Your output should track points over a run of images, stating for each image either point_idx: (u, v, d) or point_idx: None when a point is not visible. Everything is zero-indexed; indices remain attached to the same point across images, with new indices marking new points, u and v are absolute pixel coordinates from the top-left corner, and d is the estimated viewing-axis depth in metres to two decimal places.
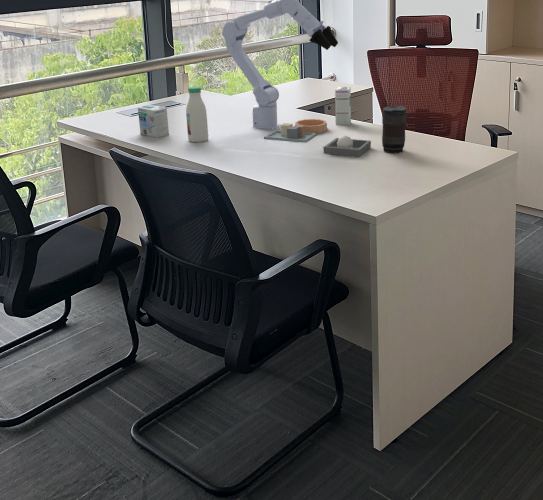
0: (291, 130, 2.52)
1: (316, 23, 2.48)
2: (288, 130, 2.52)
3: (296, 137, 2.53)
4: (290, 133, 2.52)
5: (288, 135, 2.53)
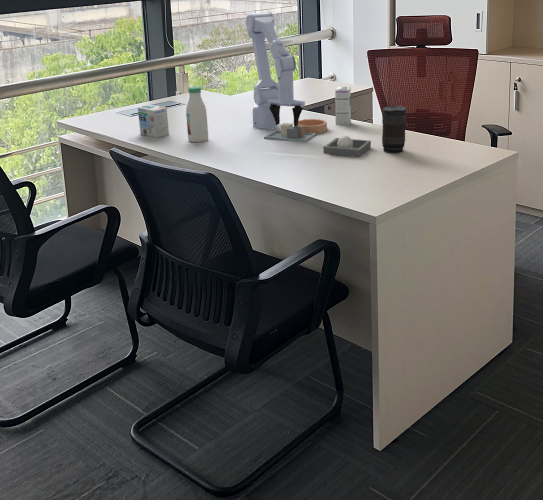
0: (291, 130, 2.52)
1: (279, 100, 2.53)
2: (288, 130, 2.52)
3: (296, 137, 2.53)
4: (290, 133, 2.52)
5: (288, 135, 2.53)
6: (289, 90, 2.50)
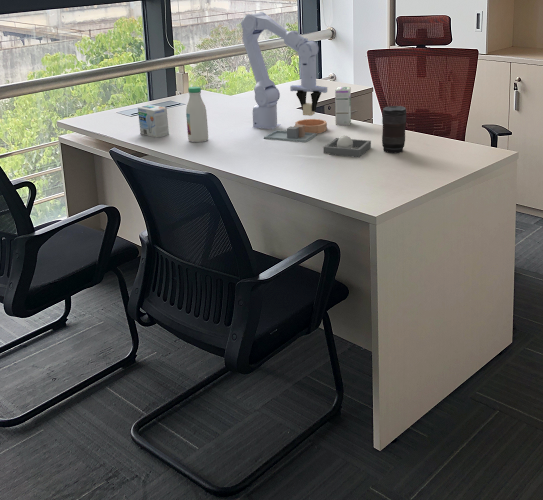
0: (291, 130, 2.52)
1: (302, 85, 2.56)
2: (288, 130, 2.52)
3: (296, 137, 2.53)
4: (290, 133, 2.52)
5: (288, 135, 2.53)
6: (312, 76, 2.53)
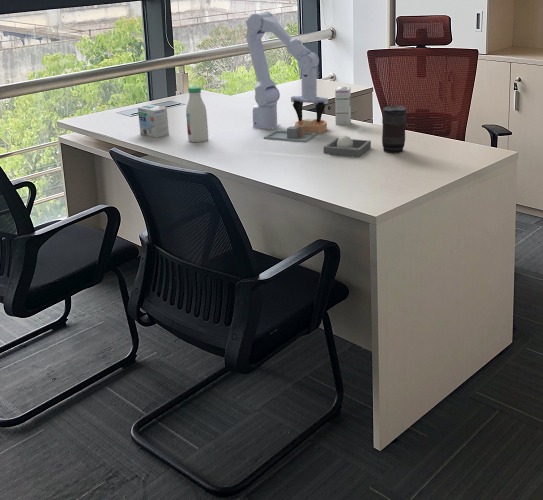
0: (291, 130, 2.52)
1: (303, 96, 2.58)
2: (288, 130, 2.52)
3: (296, 137, 2.53)
4: (290, 133, 2.52)
5: (288, 135, 2.53)
6: (312, 87, 2.55)
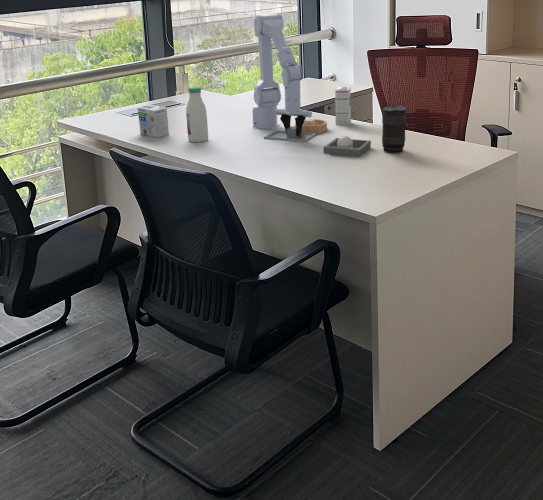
0: (291, 130, 2.52)
1: (286, 110, 2.49)
2: (288, 130, 2.52)
3: (296, 137, 2.53)
4: (290, 133, 2.52)
5: (288, 135, 2.53)
6: (296, 100, 2.46)
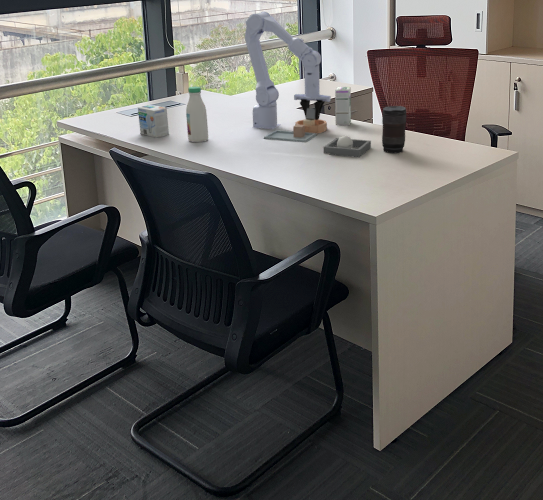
0: (311, 109, 2.62)
1: (306, 94, 2.60)
2: (308, 109, 2.63)
3: None
4: (309, 112, 2.63)
5: (307, 114, 2.63)
6: (315, 85, 2.58)
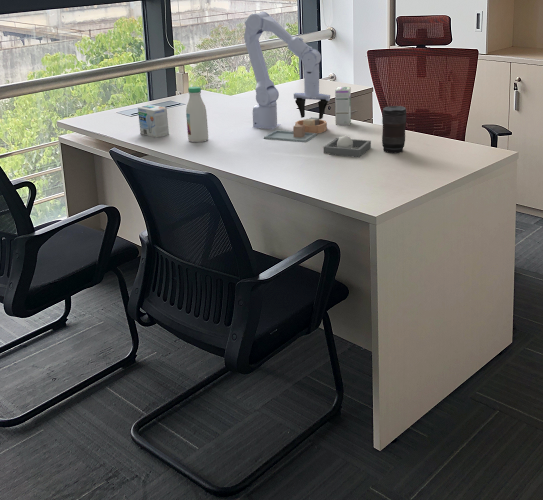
0: (315, 118, 2.67)
1: (305, 93, 2.60)
2: None
3: (315, 122, 2.65)
4: (312, 118, 2.67)
5: (310, 118, 2.66)
6: (315, 84, 2.57)
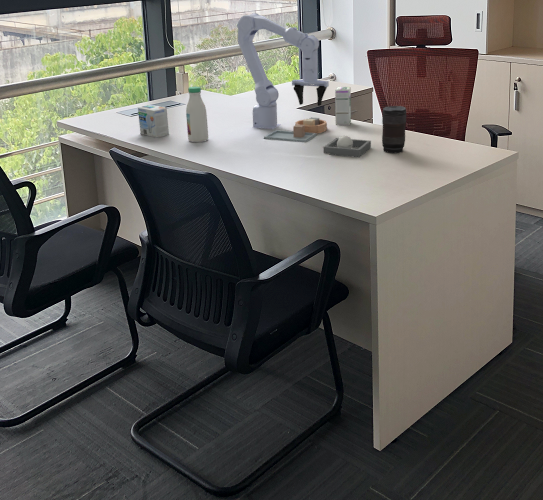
0: (315, 118, 2.67)
1: (304, 80, 2.59)
2: None
3: (315, 122, 2.65)
4: (312, 118, 2.67)
5: (310, 118, 2.66)
6: (313, 70, 2.56)
